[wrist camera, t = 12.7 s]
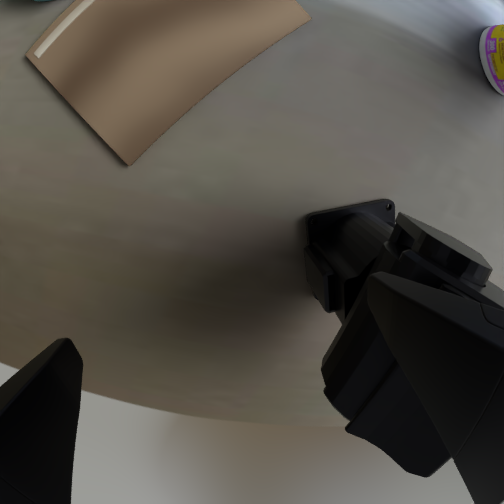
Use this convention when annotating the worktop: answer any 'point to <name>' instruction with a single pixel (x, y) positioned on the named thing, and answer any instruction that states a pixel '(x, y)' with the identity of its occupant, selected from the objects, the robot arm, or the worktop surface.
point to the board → (153, 58)
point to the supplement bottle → (493, 55)
